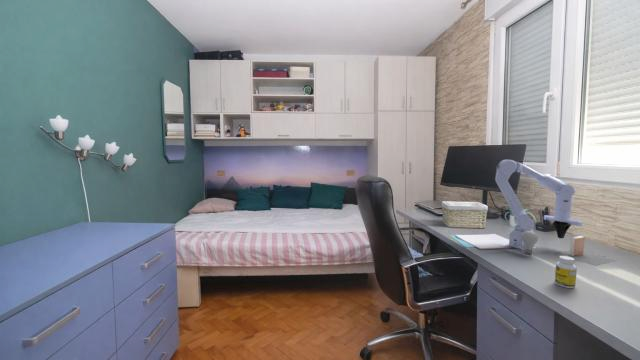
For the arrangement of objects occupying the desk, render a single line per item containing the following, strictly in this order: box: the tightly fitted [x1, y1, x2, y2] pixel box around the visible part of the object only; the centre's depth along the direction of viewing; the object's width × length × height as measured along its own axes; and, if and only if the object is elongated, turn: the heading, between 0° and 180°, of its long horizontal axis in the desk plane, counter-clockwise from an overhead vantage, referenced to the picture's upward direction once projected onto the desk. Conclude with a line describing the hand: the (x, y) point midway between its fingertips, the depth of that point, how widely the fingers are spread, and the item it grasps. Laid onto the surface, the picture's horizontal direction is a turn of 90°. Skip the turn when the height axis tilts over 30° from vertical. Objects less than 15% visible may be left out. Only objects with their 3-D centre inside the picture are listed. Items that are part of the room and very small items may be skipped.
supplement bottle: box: [554, 255, 578, 289], centre depth 97 cm, size 5×5×10 cm
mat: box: [554, 250, 618, 266], centre depth 123 cm, size 16×15×1 cm
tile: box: [569, 235, 586, 256], centre depth 126 cm, size 7×2×8 cm, turn 111°
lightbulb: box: [521, 231, 539, 255], centre depth 128 cm, size 6×6×11 cm
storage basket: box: [441, 200, 489, 229], centre depth 181 cm, size 24×16×15 cm
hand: (560, 237), depth 132 cm, fingers closed
